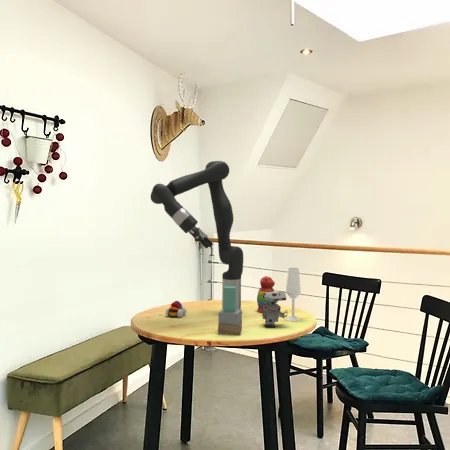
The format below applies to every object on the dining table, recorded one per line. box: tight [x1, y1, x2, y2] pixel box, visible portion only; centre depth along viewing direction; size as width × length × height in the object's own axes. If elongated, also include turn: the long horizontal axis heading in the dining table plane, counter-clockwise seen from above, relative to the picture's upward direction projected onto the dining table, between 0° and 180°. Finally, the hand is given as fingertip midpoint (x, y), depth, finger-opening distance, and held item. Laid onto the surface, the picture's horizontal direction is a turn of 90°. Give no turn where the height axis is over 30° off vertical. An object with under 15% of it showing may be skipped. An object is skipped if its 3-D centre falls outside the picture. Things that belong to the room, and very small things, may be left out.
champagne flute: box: [285, 267, 301, 322], centre depth 222 cm, size 7×7×24 cm
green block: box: [223, 286, 236, 312], centre depth 198 cm, size 5×5×10 cm
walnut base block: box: [217, 320, 243, 336], centre depth 198 cm, size 9×9×4 cm
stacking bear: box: [256, 275, 276, 314], centre depth 240 cm, size 11×10×18 cm
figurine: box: [261, 290, 288, 329], centre depth 210 cm, size 9×12×15 cm
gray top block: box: [217, 309, 243, 325], centre depth 198 cm, size 8×8×4 cm
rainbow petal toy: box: [165, 300, 187, 318], centre depth 228 cm, size 8×10×7 cm
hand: (210, 246), depth 210 cm, fingers open, 8 cm apart
